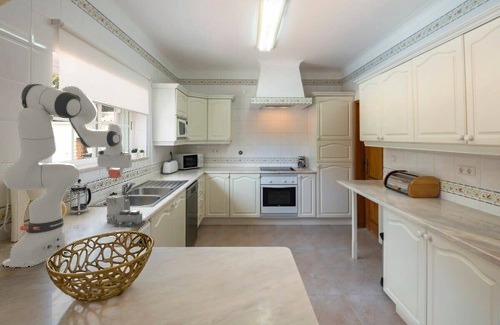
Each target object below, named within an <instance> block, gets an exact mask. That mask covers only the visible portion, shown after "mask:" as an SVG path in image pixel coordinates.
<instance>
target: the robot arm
mask: <svg viewBox="0 0 500 325" xmlns="http://www.w3.org/2000/svg"><path fill="white" fill-rule="evenodd" d="M20 98H21V105H22V106H23V107H22V109H21V110H20V111H19V112H18V117H17V131H18V137H19V138H18V139H19V144H20V154H19V157H18V159H17V160H16V161H15V162H14V163H13V164H11V165H10V166H8V167H7V168H5V170H4V172H3V173H2V182H3V184H4V185H5V187H6V188H8V189H10V190H18V191H29V190H31V191H32V190H46V192H45V193H44V194H43V195H41V196H39V197H37V198H35V199H33V200H32V201H31V202H30V203H29V205H28V214H29V215H28V216H29V221H28V224H27V225H20V227H19V230H20V231H25V233H24V234H23V235H22V237H20V238H19V240H18V241H17V242H16V243H14V245H12V247H11V249H10V251H9V252H10V253H9V254H10V255H9V257H8V258H7V259H6V260H4V261H2V264H3V265H4V266H3V265H2V266H3V267H6V266H9V267H8V268H15V267H21V268H28V266H30V267H33V266H36V265H39V264H43V262H46V261H48V260H47V259H48V258H49V257H50V256H51V255H52V254H53V253H54V252H55V251H57V250H59V249H60V248H62V247H64V246H65V245H68V242H67V240H66V235H65V231H64V223H65V221H64V217H63V211H62V210H63V209H62V207H63V199H64V196H65V195H66V193H67V192H68V190H69V189H70V188H71V187H73V186H75V185H76V183H78V181H79V179H80V171H79V169H78V167H77V166H76V165H74V164H71V163H64V162H54V163H53V162H52V163H50V162H49V163H47V162H45V163H42V161H44V160H46V159H49V158H51V157H53V155H55V153H56V150H57V146H56V138H55V136H56V135H55V130H54V126H53V120H54V117H60V118H63V119H68V121H69V124H70V125H71V127H72V128H73V130H74V132H75V133H76V135H77V137H78V138H79V141H80V143H81V144H82V146H83V147H85V148H105V149H101V150H99V151H97V159H96V160H97V161H96V162H97V166H98V167H99V168H105V170H106V171H107V175H108V176H109V170H110V169H111V168H119V169H120V172H118V175H121V176H123V172H124V170H125V169H129V168H132V166H133V162H132V155H131V154H130V153H129V152H128V151H127V152H124V151H123V144H122V140H123V135H122V134H123V133H122V128H121V126H120V125H118V124H113V123H110V124H106V125H105V129H90V128H88V127H87V126H86V125H89V124H91V123H92V122H94V121H95V120H96V118H97V116H98V110H97V107H96V105H95V104H94V103H93V100H91V98H90V97H89V96H88V95H87V94H86V93H85V92H84V91H83V90H82V89H81V88H79V87H78V86H74V85H68V86H65V87H63V88H62V89H58V88H56V87H52V86H48V85H43V84H40V83H31V84H28V85H26V86H25V87H24V88H23V89H22V91H21V96H20Z"/></svg>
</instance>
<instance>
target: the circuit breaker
mask: <svg viewBox="0 0 500 325" xmlns="http://www.w3.org/2000/svg"><path fill="white" fill-rule="evenodd" d="M126 198H127V197H126V195H125V194H113V195H111V196H107V197H105V205H106V209H107V210H106V212H107V214H106V223H115V224H117V223H118V221H117V215H118V214H120V212H121V211H123V210H130V211H131V202H130V199H126Z"/></svg>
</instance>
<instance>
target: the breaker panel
mask: <svg viewBox="0 0 500 325" xmlns="http://www.w3.org/2000/svg"><path fill="white" fill-rule="evenodd" d="M117 221H118V223H115V224H114V225H113V226H114V227H115V228H116V227H117V228H118V227H119V228H121V227H122V228H135V227H137V226H139V225H141V224H142V223H144V222H145V221H146V219H145V218H143V212H140V213H139V214H137V215H129V214H127V215H121V214H118V215H117Z"/></svg>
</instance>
